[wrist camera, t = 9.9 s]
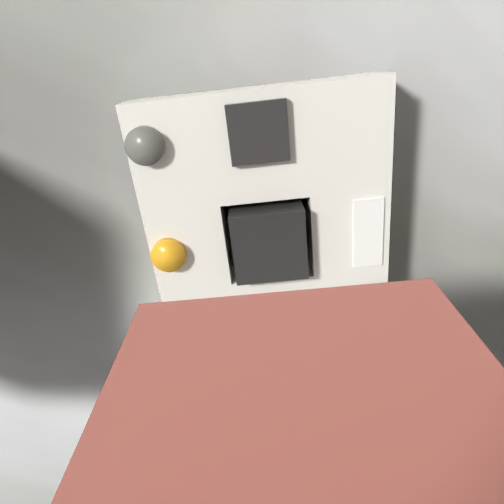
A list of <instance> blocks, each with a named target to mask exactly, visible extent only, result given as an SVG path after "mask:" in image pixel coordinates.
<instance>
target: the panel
mask: <svg viewBox="0 0 504 504" xmlns="http://www.w3.org/2000/svg"><path fill="white" fill-rule="evenodd" d="M395 94H396V73H394V72H383V71H377V72H368V73H360V74H351V75H342V76H334V77H325V78H316V79H308V80H299V81H290V82H281V83H273V84H264V85H255V86H247V87H238V88H229V89H221V90H212V91H203V92H195V93H186V94H177V95H169V96H160V97H151V98H143V99H134V100H128V101H125V102H123V103H120V104H117V105H115V106H116V110H117V115H118V119H119V123H120V127H121V132H122V136H123V140H124V147H125V151H126V153H127V157H128V161H129V165H130V170H131V174H132V178H133V182H134V187H135V191H136V195H137V199H138V204H139V208H140V212H141V216H142V221H143V225H144V229H145V233H146V237H147V242H148V246H149V250H150V254H151V261H152V263H153V267H154V271H155V276H156V280H157V284H158V288H159V293H160V297H161V301H162V302H168V301H180V300H191V299H202V298H214V297H225V296H236V295H248V294H259V293H270V292H282V291H293V290H304V289H316V288H327V287H338V286H350V285H361V284H372V283H384V282H388V264H389V240H390V216H391V191H392V167H393V143H394V119H395ZM298 198H305V212H306V231H307V250H308V273H309V279H302V280H292V281H281V282H271V283H261V284H250V285H240V286H237V281H236V274H235V267H234V264H233V260H232V253H231V246H230V239H229V232H228V225H227V218H226V211H225V206H231V205H241V204H250V203H260V202H269V201H279V200H289V199H298Z"/></svg>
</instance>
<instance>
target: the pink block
mask: <svg viewBox="0 0 504 504" xmlns="http://www.w3.org/2000/svg"><path fill="white" fill-rule="evenodd" d="M51 504H504V367H503V366H502V365H501V364H500V362H499V361H498V360H497V359H496V357H495V356H494V355H493V354H492V352H491V351H490V350H489V349H488V348H487V346H486V345H485V344H484V343H483V341H482V340H481V339H480V338H479V336H478V335H477V334H476V333H475V331H474V330H473V329H472V328H471V326H470V325H469V324H468V323H467V322H466V320H465V319H464V318H463V317H462V315H461V314H460V313H459V312H458V310H457V309H456V308H455V307H454V305H453V304H452V303H451V302H450V300H449V299H448V298H447V297H446V295H445V294H444V293H443V292H442V291H441V289H440V288H439V287H438V286H437V284H436V283H435V282H434V281H433V279H432V278H429V279H418V280H407V281H395V282H384V283H372V284H361V285H350V286H338V287H327V288H316V289H304V290H293V291H282V292H270V293H259V294H248V295H236V296H225V297H214V298H202V299H191V300H180V301H168V302H157V303H146V304H140V305H139V307H138V309H137V311H136V314H135V316H134V318H133V320H132V323H131V325H130V327H129V329H128V332H127V334H126V336H125V338H124V341H123V343H122V345H121V347H120V350H119V352H118V354H117V356H116V359H115V361H114V363H113V365H112V368H111V370H110V372H109V374H108V377H107V379H106V381H105V383H104V386H103V388H102V390H101V392H100V395H99V397H98V399H97V401H96V404H95V406H94V408H93V410H92V413H91V415H90V417H89V420H88V422H87V424H86V426H85V429H84V431H83V433H82V435H81V438H80V440H79V442H78V444H77V447H76V449H75V451H74V453H73V456H72V458H71V460H70V462H69V465H68V467H67V469H66V471H65V474H64V476H63V478H62V480H61V483H60V485H59V487H58V489H57V492H56V494H55V496H54V498H53V501H52V503H51Z"/></svg>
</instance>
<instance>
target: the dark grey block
mask: <svg viewBox="0 0 504 504" xmlns="http://www.w3.org/2000/svg"><path fill="white" fill-rule="evenodd" d="M228 224H229V232H230V239H231V246H232V253H233V260H234V267H235V274H236V281H237V286H240V285H250V284H261V283H271V282H281V281H292V280H302V279H309V273H308V255H307V236H306V217H305V209H304V206H303V204H302V201H301V198H298V199H289V200H279V201H269V202H260V203H250V204H241V205H231V206H229V213H228Z"/></svg>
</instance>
